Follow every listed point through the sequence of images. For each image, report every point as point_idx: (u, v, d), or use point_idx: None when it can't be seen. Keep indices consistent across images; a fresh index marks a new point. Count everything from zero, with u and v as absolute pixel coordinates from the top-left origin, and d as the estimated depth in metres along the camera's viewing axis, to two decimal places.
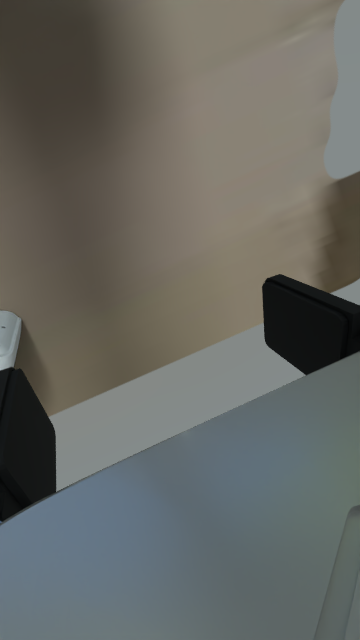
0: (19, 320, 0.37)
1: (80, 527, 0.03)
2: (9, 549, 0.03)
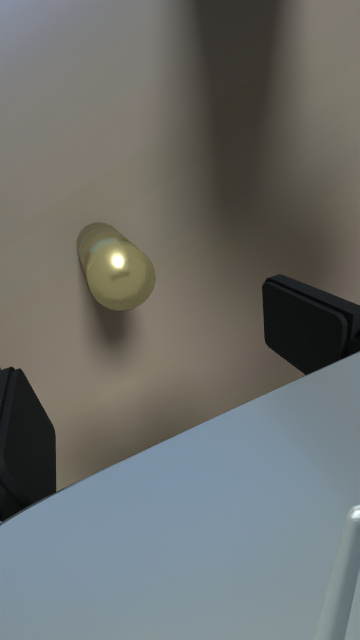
0: None
1: (80, 527, 0.03)
2: (9, 551, 0.03)
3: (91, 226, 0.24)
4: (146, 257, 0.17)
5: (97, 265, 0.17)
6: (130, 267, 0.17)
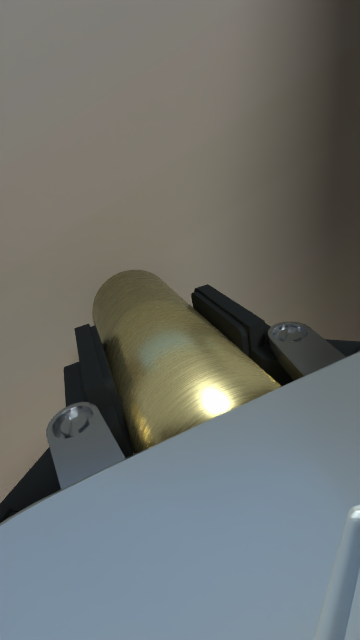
0: None
1: (80, 527, 0.03)
2: (9, 551, 0.03)
3: (122, 281, 0.13)
4: None
5: None
6: None
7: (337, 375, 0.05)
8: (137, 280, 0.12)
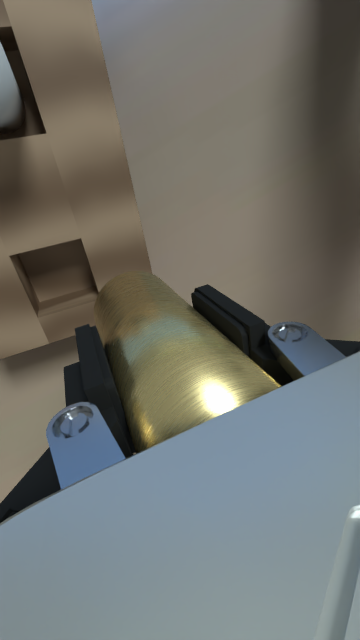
0: None
1: (80, 527, 0.03)
2: (9, 551, 0.03)
3: (123, 282, 0.13)
4: None
5: None
6: None
7: (337, 375, 0.05)
8: (138, 281, 0.12)
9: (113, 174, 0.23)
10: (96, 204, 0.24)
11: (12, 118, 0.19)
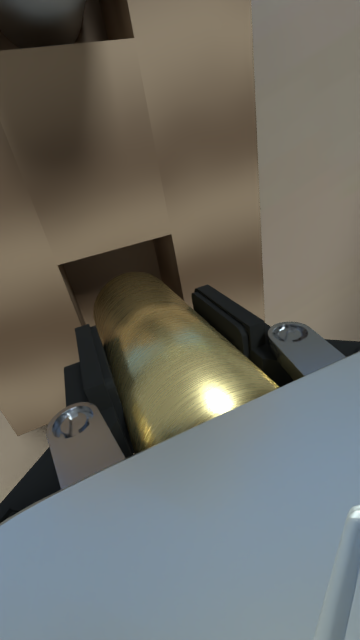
0: None
1: (80, 527, 0.03)
2: (9, 550, 0.03)
3: (123, 283, 0.13)
4: None
5: None
6: None
7: (337, 375, 0.05)
8: (138, 282, 0.12)
9: (231, 124, 0.14)
10: (200, 176, 0.14)
11: None
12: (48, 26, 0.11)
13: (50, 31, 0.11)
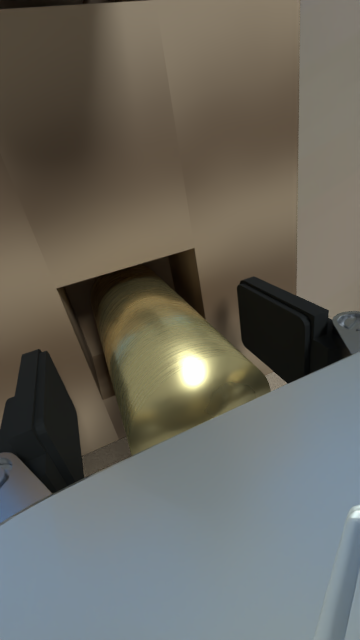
0: None
1: (80, 527, 0.03)
2: (9, 550, 0.03)
3: (116, 271, 0.14)
4: (259, 374, 0.08)
5: (153, 407, 0.07)
6: (223, 400, 0.07)
7: (337, 375, 0.05)
8: (129, 270, 0.14)
9: (269, 115, 0.11)
10: (230, 178, 0.11)
11: None
12: None
13: None
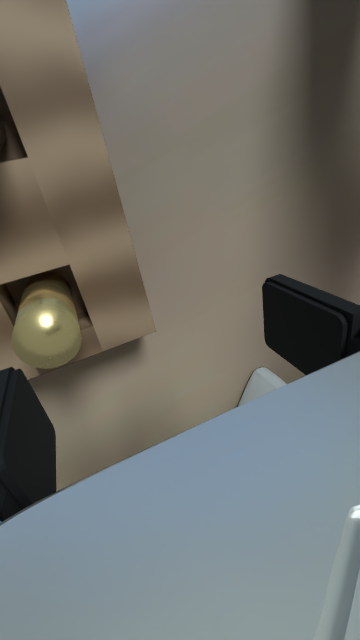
0: (276, 375, 0.44)
1: (80, 527, 0.03)
2: (9, 550, 0.03)
3: (35, 277, 0.25)
4: (69, 319, 0.18)
5: (20, 330, 0.17)
6: (54, 329, 0.18)
7: (337, 375, 0.04)
8: (42, 276, 0.25)
9: (100, 197, 0.22)
10: (84, 228, 0.22)
11: None
12: None
13: None
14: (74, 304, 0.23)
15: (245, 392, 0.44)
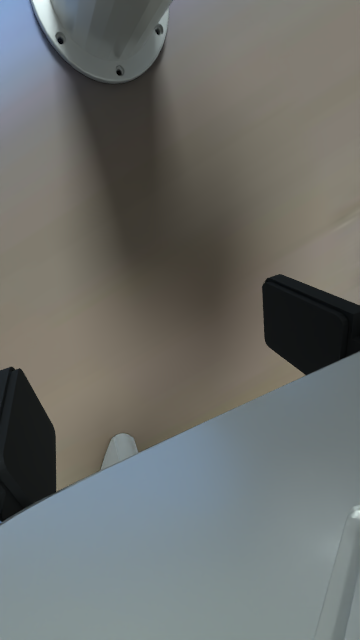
0: (133, 441, 0.49)
1: (80, 527, 0.03)
2: (9, 551, 0.03)
3: None
4: None
5: None
6: None
7: (337, 375, 0.05)
8: None
9: None
10: None
11: None
12: None
13: None
14: None
15: (105, 456, 0.49)
